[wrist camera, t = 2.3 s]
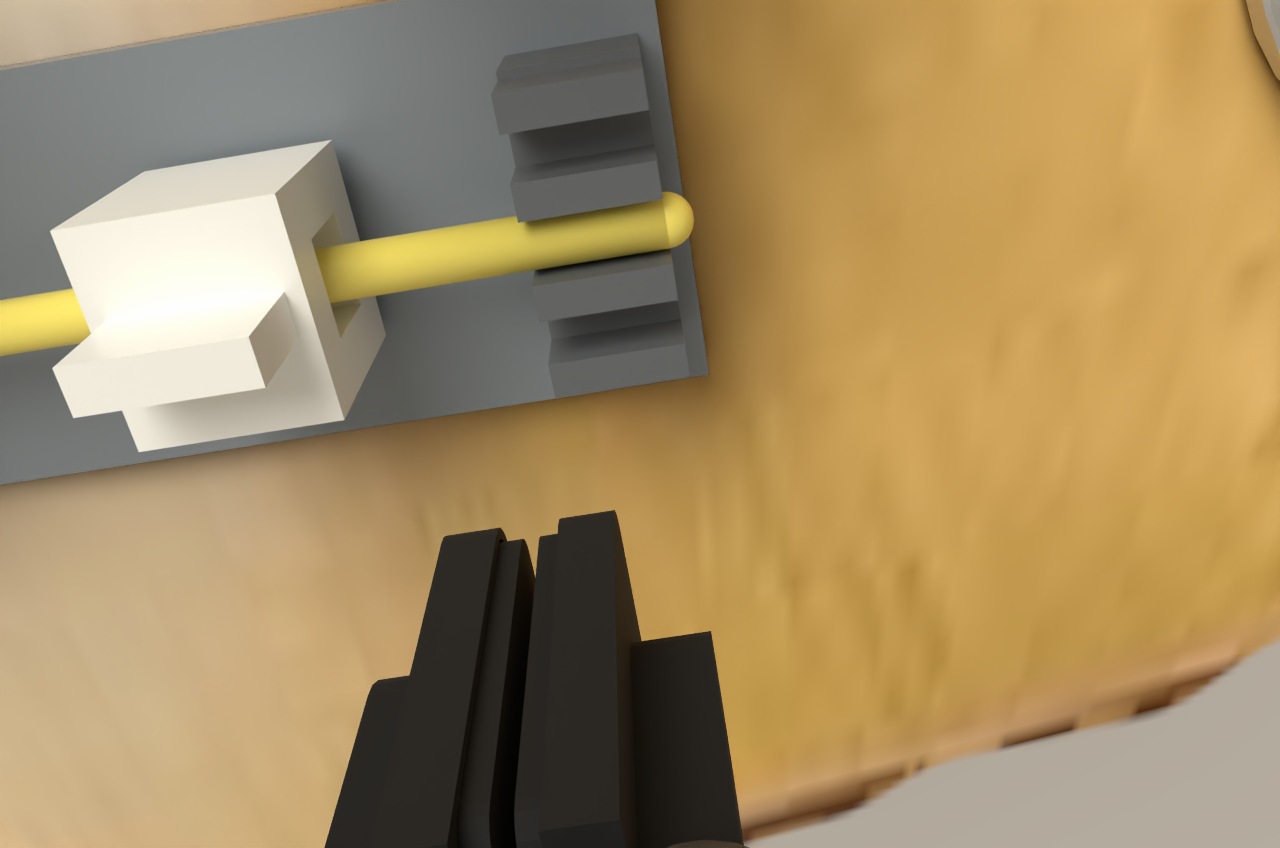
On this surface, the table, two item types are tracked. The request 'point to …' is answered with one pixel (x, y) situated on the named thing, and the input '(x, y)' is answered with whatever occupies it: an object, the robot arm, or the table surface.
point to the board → (375, 193)
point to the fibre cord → (413, 262)
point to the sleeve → (216, 300)
